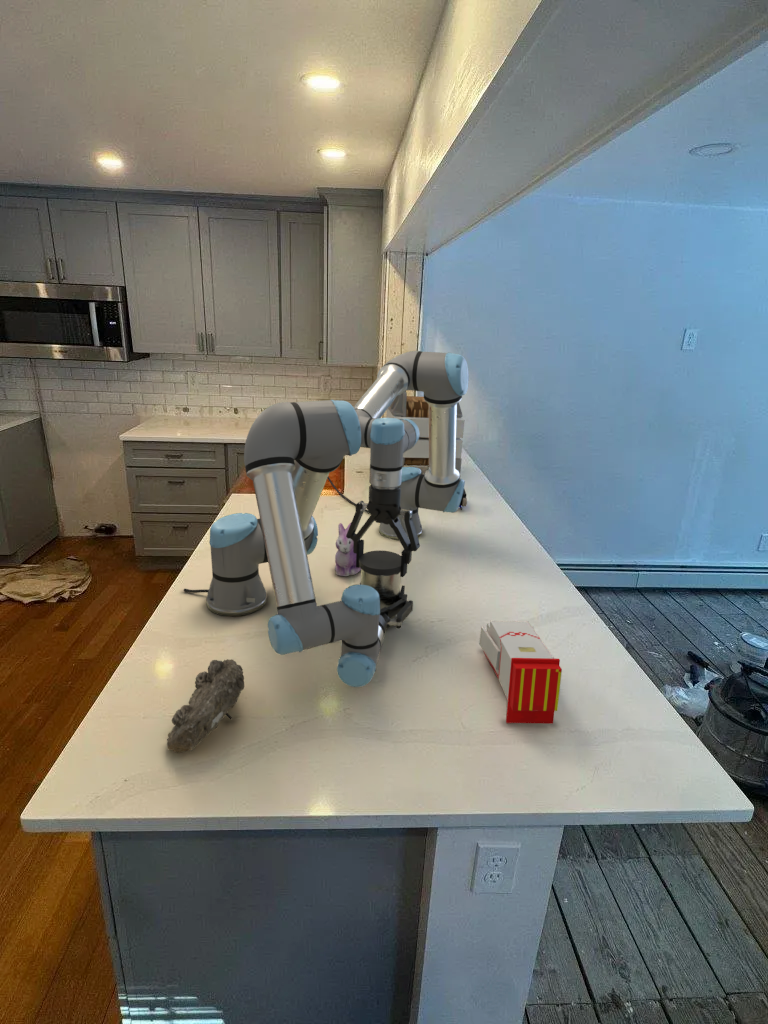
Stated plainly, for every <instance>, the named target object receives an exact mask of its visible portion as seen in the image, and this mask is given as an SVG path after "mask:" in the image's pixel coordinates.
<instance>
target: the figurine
mask: <svg viewBox="0 0 768 1024" xmlns="http://www.w3.org/2000/svg"><path fill="white" fill-rule="evenodd" d="M350 525H351V522H349V524H348V525H347V526H346V528H345V527H344V525H343V523H342V522H339V523H338V529H337V530H338V536H337V538H336V541H335V548H336V549H337V551H336V553H335V554H334V555H335V557H334V563H335V566H334V571H335V574H336V575H337V576H341V577H349V576H353V575H356V574H358V573H359V572H361V568H360V567H359V568H357V567H356V553H354V552H353V540H352V539H350V538H349V539H348V538H347V537H346V535H347V532H348V530H349V527H350Z"/></svg>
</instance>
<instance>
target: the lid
mask: <svg viewBox="0 0 768 1024" xmlns="http://www.w3.org/2000/svg"><path fill="white" fill-rule="evenodd" d="M359 567H360V568H361V569H362V570H363V571H365V572H367V573H370V574H374V575H392V574H396V573H399V572H401V554H399V553H396V552H394V551H390V550H382V549H381V550H379V549H378V550H371V551H367V552H364V553H363V554H362V555H361V556H360V558H359Z"/></svg>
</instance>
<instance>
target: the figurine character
mask: <svg viewBox="0 0 768 1024" xmlns="http://www.w3.org/2000/svg"><path fill="white" fill-rule="evenodd" d="M467 503H468V498H467V492H466V489H465V488H464V491H463V495H462V499H461V502H460V505H459V507H458V509H460V511H463V507H464V508H465V507H467Z"/></svg>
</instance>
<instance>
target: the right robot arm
mask: <svg viewBox="0 0 768 1024" xmlns="http://www.w3.org/2000/svg"><path fill="white" fill-rule="evenodd" d="M469 377H470V375H469V366H468V362H467V360H466V358H465V356H463V355H462V354H458V353H452V352H436V351H420V350H412V351H411V350H410V351H407V352H403V353H401V354H397V356H395V357H392V358H391V359H389V360H388V361H387V362H385V363H384V364H383V365H382V366H381V368H380V369H379V370H378V372H377V376H376V379H375V380H374V382H373V383H372V384H371V385H370V386H369V387H368V389H367V390H366V391H365V392H364V394H363V395H362V396H361V397H360V398H359V399H358V401H357V402H356V403H355V404H354V405H353V408H354V409H355V411H356V413H357V416H358V419H359V423H360V428H361V446H360V448H365V449H369V450H370V452H369V453H370V454H369V455H370V456H369V457H370V458H369V482H368V483H369V484H370V485H369V486H368V502H365V501H363V500H360V501H358V502H357V503H355V502H354V501H352V500H351V499H349V498H348V497H347V496H345V495H344V494H343V493H342V492H341V491H340V490H339V489H338V488H337V487H336V485H335V484H334V482H333V481H332V480H331V479H330V477H329V476H328V478H327V481H328V482H329V483H330V484H331V486H332V488H333V489H334V490H335V491H336V492H337V494H339V496H341V497H342V498H343V499H344V500H346V501H347V502H348V503H350V504H352V505H353V506H354V507H355V513H354V515H353V517H352V520H351V522H350V523H351V525H350V527H349V530H348V532H347V535H346V537H347V538H348V539H349V538H350V539H352V540H353V552H354V553H356V567H357V568H359V558H360V556H361V555H362V554H364V553H365V549H364V547H365V540H364V539H363V536H364V535H365V534H366V533H367V531H368V530H369V529H370V527H371V526H372V525H373V523H374V522H375V523H377V524H379V526H378V533H379V534H380V535H381V536H382V537H385V538H387V539H389V540H395V541H399V543H400V544H401V546H402V549H403V550H402V551H401V554H400V555H401V572H400V577H401V578H404V577H405V576H406V575H407V574H408V565H409V564H411V562H412V556H413V552H417V551H418V550H419V549H420V547H421V543H420V540H419V538H420V537H421V536H422V535H423V525H422V524H421V518H420V515H419V509H424V510H432V511H437V512H442V513H456V512H457V511H458V509H459V508H460V507H459V505H460V502H461V499H462V495H463V491H464V489H465V484H466V483H465V482H466V481H465V479H463V478H461V474H460V475H459V472H458V471H457V470H456V469H455V453H456V415H457V403H458V402H459V403H460V402H461V401H462V399H463V396H465V395H467V393H468V389H469V381H470V380H469ZM405 391H406V392H407V391H413V392H422V393H423V397H424V400H425V401H426V402H427V403H428V404H429V465H428V469H427V470H426V471H425V472H424V473H422V470H421V468H419V467H417V466H404V467H402V460H403V453H404V452H406V451H407V450H409V449H411V448H412V447H413V446H414V445H415V444H416V443H417V441H418V439H419V429H418V426H417V425H416V424H415V423H414V422H413V421H412V420H410V419H396V418H386V417H383V416H384V414H386V412H387V409H388V408H389V406H390V405H391V403H392V402H393V401H394V399H395V398H396V397H397V395H400V394H402V393H404V392H405ZM458 507H459V508H458ZM364 512H366V513H368V514H369V517H368V518H367V520H366V521H365V523H364V524H363V525H362V527H360V528H359V530H358V527H359V525H360V522H361V519H362V517H363V514H364ZM357 530H358V531H357Z"/></svg>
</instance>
